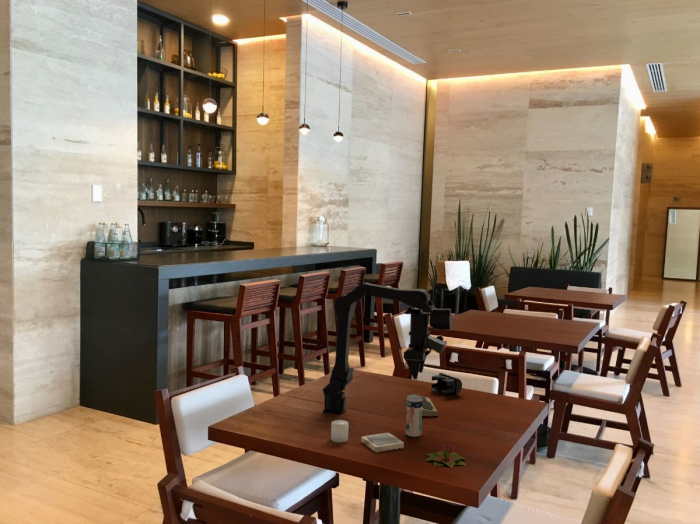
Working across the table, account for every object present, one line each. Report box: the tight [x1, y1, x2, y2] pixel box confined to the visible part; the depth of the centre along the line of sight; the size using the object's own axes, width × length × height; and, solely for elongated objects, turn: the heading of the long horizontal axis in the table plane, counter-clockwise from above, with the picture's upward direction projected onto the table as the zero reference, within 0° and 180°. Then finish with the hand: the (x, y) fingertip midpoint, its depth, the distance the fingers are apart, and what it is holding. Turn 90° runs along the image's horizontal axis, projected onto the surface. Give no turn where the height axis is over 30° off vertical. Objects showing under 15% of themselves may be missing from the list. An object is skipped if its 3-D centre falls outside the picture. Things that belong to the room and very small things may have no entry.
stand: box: [360, 432, 405, 453], centre depth 176 cm, size 9×9×2 cm
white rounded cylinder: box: [330, 419, 349, 443], centre depth 179 cm, size 5×5×5 cm
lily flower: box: [424, 444, 467, 469], centre depth 165 cm, size 12×12×5 cm
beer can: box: [405, 393, 423, 438], centre depth 184 cm, size 5×5×12 cm
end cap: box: [430, 372, 463, 398], centre depth 230 cm, size 10×7×7 cm
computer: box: [421, 396, 439, 416], centre depth 209 cm, size 16×8×3 cm, turn 3°
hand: (417, 375), depth 197 cm, fingers open, 9 cm apart
